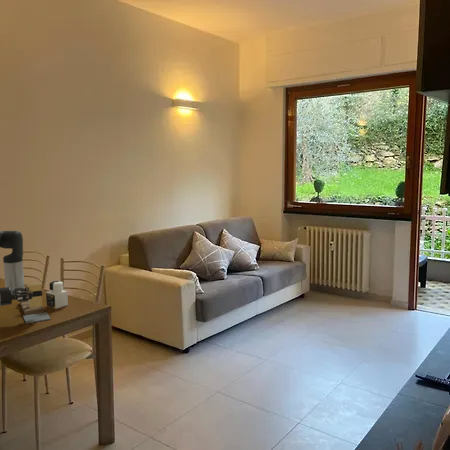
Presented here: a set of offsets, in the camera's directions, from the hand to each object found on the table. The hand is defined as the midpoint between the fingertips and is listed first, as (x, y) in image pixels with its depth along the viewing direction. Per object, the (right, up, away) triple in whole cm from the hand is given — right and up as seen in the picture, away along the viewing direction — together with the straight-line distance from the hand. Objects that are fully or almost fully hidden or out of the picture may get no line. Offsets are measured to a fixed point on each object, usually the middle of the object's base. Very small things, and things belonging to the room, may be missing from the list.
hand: (41, 291), depth 205 cm
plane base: (-11, -10, +15) cm, 21 cm away
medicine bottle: (+1, -10, +18) cm, 20 cm away
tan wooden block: (-2, -6, 0) cm, 7 cm away
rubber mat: (-2, -12, +1) cm, 12 cm away
